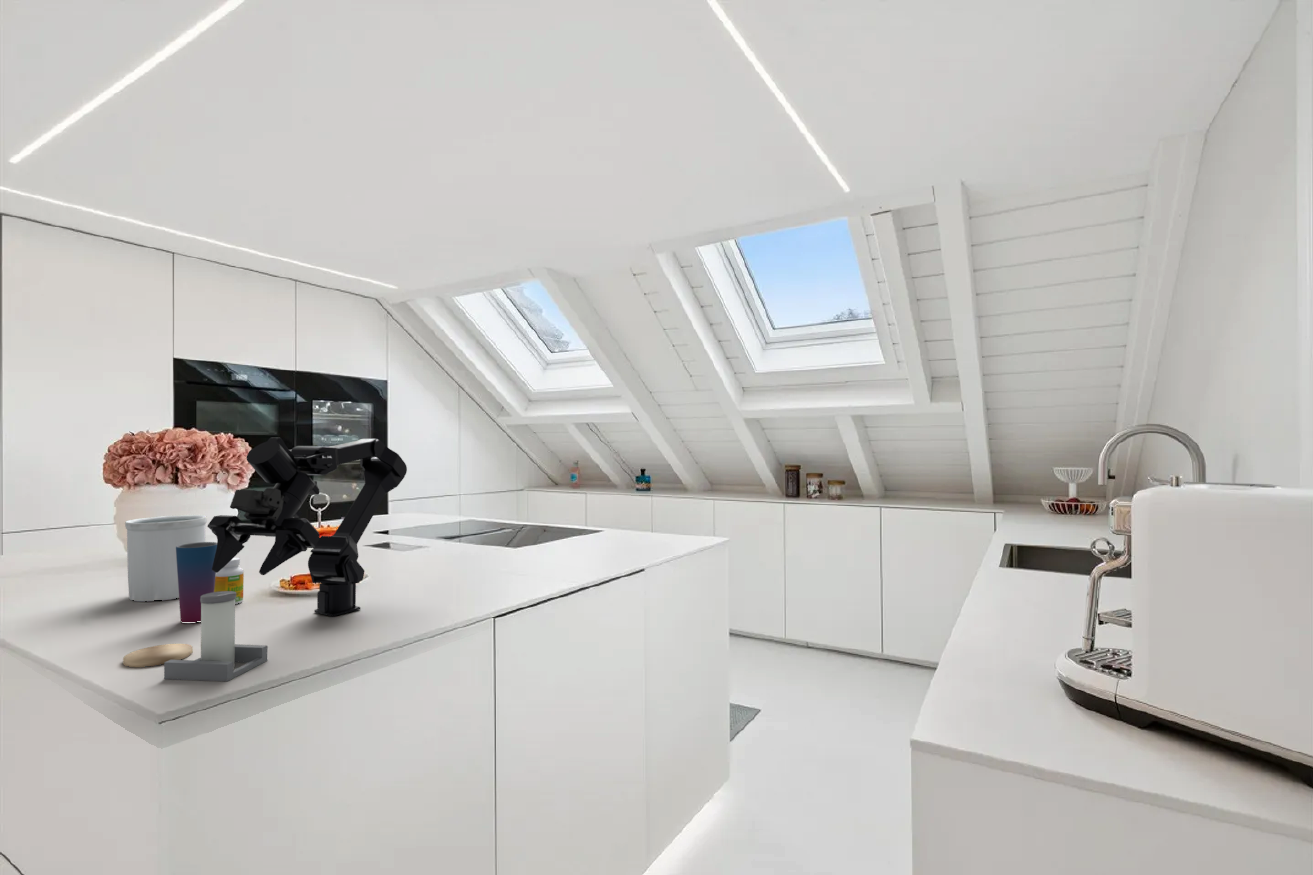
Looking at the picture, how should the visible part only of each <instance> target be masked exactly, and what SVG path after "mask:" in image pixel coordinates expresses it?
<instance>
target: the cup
mask: <svg viewBox="0 0 1313 875" xmlns="http://www.w3.org/2000/svg"><path fill="white" fill-rule="evenodd" d="M216 549H217V542H215V541H205V542H196V543H187V544H181V545H177V546H176V558H177V573H178V588H179V598H178V601H179V616H180V617H179V618H180V622H181V621H182V622H197V621H201V596H202V595H204V594H208V593H212V592H214V587H215V576H216V573H215V572H214V571H213V570H212V566H213V562H214V557H215V553H216Z"/></svg>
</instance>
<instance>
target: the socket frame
mask: <svg viewBox="0 0 1313 875" xmlns="http://www.w3.org/2000/svg"><path fill="white" fill-rule="evenodd" d="M267 661H268V645H266V644H265V645H264V644H244V643H243V644H239V643H237V644H236V643H235V663H244V664H242V665H241V666H239V667H236V668H235V669H234V668H233V662H225V661H201V657H199V658H196V659H194V660H193V659H191V660H190V659H189V660H188V659H182V660H169V661H166V662H164V664H163V665H164V667H163V668H164V669H163V671H164V672H163V673H164V674H163V676H164V677H163V679H164V680H180V679H181V680H182V681H183V680H184V681H185V680H187V681H205V682H206V681H207V682H208V681H209V682H210V681H212V682H213V681H214V682H229V681H230V680H232V679H234V678H237V677H238V676H240V675H242V674H244V673H246V672H248V671H249V670H252V669H254V668H256V667H258V666H259V665H262V664H263V663H265V662H267Z"/></svg>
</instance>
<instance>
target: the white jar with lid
mask: <svg viewBox="0 0 1313 875" xmlns="http://www.w3.org/2000/svg"><path fill="white" fill-rule="evenodd" d="M235 599H236V592H234V591H220V592H212V593H208V594H204V595H202V596H201V623H200V658H201V661H225V662H233V669H234V668H235V666H236V662H235V644H236V605H235Z"/></svg>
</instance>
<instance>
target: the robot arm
mask: <svg viewBox="0 0 1313 875" xmlns="http://www.w3.org/2000/svg"><path fill="white" fill-rule="evenodd" d="M246 461H247V462H248V464H249V465H250V466H251V468H252V469H254V470H255V472H256V473H257V474H258V475H259V477H261V478H262V479H263V480H264V482H266V484H271V485H274V486H273V487H270V488H269V487H267V488H265V489H264V490H256V489H235V492H234V494H233V497H232V500H231V502H230V505H229V508H230V509H232V510H235V509H236V510H238V511H241V512H244V514H243V517H244V518H245V519H246V520H249V521H250V522H249V523H244V522H243V520H242V519H240V518H239V517H238V516H237V515H223V514H221V515H219V514H218V515H214V516H213V517H212V519H211V520H210V521H209V522H208V524H207V526H206V527H207V528H209V529H210V530H211V532H212V533H213V535H214V536H216V539H217V540H216V541H217V542H216V543H217V549H216V553H215V557H214V562H213V566H212V570H213V571H214V572H215V573H217V572H219V571H220V570H221V569H222V568H223V567H225V566H226V565H227V564H228V563H229V562H230V561H231V560H232V559H233V558H234V557H237V555H238V554H239V553H240V552H241V551H242V550H243V549H244V548H245V545H244V544H246V543H247V542H249V540H250V538H251V536H255V537H256V536H259V537H260V536H261V537H269V538H275V539H274V543H273V545H272V547H271V548H270V550H269V552H268V553H267V556H266V557H265V559H264V561H263V562H262V564H261V566H260V569H259V571H258V573H259V574H260V575H262V576H265V575H267V574H268V573H270V572H271V571H274V570H275V569H276V568H277V567H279V566H280V565H282V564H283V563H285V562H287V561H288V560H290V559H291V558H294V557H295V556H297V555H298V554H301V553H302V552H307V551H308V549H310V551H309V552H310V553H311V554H310V555H309V558H308V560H307V568H308V571H309V574H310V578H311V583H313V584H319V588H318V590H319V591H317V596H316V598H317V601H316V602H317V604H316V605H317V607H316V608H315V609H314V611H313V612H314V613H317V614H321V615H325V616H328V617H329V616H330V617H337V616H340V615H344V614H347V613H352V612H356V611H359V610H361V606H358V605H357V604H356V601H357V597H356V596H357V595H356V594H357V584H360V582H361V581H363V580H364V576H365V568H363V567H362V565H361V564H360V562H358V558H359V552H358V551H359V549H358V543H359V541H360V540H361V538H362V536H363V534H364V532H365V531H366V529H367V527H368V525H369V523H370V522H371V520H372V518H373V516H374V515H375V513H376V512H377V509H378V508H379V506H380V505H381V503H382V500H383V499H384V497H385V496H386V494H387V493H390V492H391V491H392V490H394V489H396V488H397V487H399V485H400V484H401V482H402V481H403V480H404V478H406V477H405V476H406V475H407V472H408V467H407V466H408V465H407V464H406V462H405V461H404V460H403V458H402V457H401V456H400V454H399V453H398V452H396V451H395V450H392V449H390V447H387V446H386V445H385V443H384V442H383V441H382V440H380V439H378V438H361V439H358V440H353V441H350V442H345V443H340V444H335V445H329V446H325V445H324V446H323V445H321V446H318V445H317V446H316V445H296V446H294V447H292V448H291V450H290V449H289V448H288V447H287V446H286V444H285V442H284V440H283V439H282V438H281V437H269V438H268V440H267V441H265V442H262V443H260V444H257V445H256V446H255V447H254V448H251V449H250V450H249V451H248V453H247V455H246ZM355 461H359V466H360V467H361V469H362V470H363V479H364V480H363V482H364V485H363V486H362V488H361V490H360V491H359V493H358V495H357V496H356V498H355V500H354V501H353V503H352V505H351V506H350V508H349V509H348V511H347V513H346V514H345V516H344V518H343V519H342V521H341V523H340V524H339V526H338V528H337V529H336V531H335V532H334V533H333V535H331V536H330V535H321V536H320V533H319V531H318V530H317V528H316V527H314V525H313V524H312V522H311V521H309V520H308V519H307V518H306V517H305V518H304V517H301V516H302V515H303V513H302V511H301V510H300V508H301V507H302V505H303V504H304V502H305V500H306V499H307V498H308V496H309V495H310V496H318V495H320V488H319V487H318V482H317V480H313V479H312V478H311V476H327V475H328V474H331V473H332V472H335V471H336V470H338V468H339V466H340V465H344V464H348V463H351V462H352V463H353V462H355Z"/></svg>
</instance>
